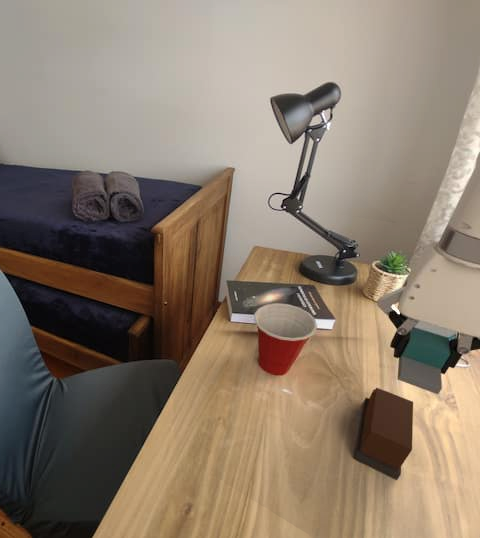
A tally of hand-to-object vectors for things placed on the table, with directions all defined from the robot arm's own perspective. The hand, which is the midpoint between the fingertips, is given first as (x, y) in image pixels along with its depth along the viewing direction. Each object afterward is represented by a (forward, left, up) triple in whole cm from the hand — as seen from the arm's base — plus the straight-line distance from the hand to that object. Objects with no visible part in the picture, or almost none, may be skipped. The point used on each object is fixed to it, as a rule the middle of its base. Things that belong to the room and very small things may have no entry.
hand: (418, 358), depth 51 cm
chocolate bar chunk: (+1, +1, -16) cm, 16 cm away
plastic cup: (+14, -14, -17) cm, 25 cm away
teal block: (+1, +1, 0) cm, 2 cm away
